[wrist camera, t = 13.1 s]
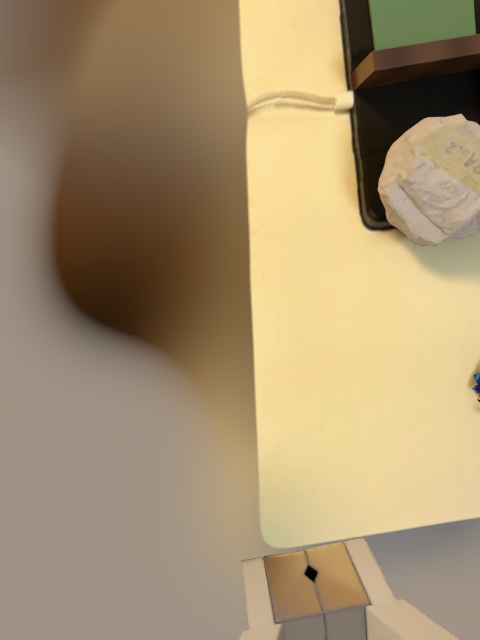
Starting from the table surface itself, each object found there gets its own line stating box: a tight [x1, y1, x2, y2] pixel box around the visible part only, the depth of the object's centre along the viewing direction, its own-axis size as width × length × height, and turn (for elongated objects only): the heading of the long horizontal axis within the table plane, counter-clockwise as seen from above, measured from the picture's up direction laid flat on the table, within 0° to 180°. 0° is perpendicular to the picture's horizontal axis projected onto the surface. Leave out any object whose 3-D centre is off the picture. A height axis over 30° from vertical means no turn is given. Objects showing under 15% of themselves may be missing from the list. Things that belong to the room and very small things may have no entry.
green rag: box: [368, 0, 476, 51], centre depth 35 cm, size 10×6×1 cm, turn 102°
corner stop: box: [351, 34, 480, 91], centre depth 36 cm, size 15×16×4 cm
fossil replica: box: [378, 114, 480, 246], centre depth 34 cm, size 12×8×10 cm
